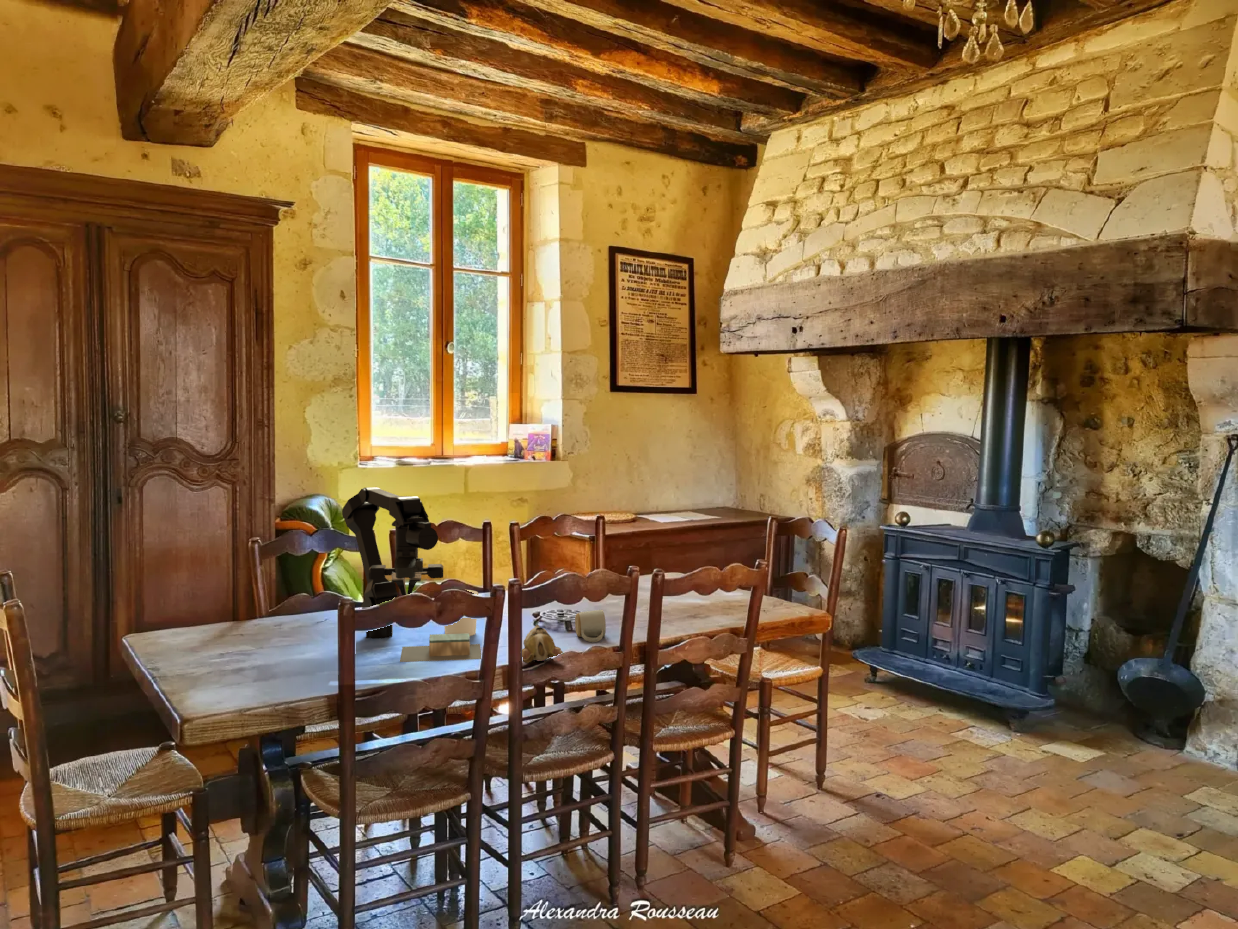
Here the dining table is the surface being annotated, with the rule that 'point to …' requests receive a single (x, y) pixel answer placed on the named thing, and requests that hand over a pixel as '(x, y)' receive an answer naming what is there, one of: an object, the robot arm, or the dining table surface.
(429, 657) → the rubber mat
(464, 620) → the candle holder
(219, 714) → the dining table surface
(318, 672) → the dining table surface
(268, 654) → the dining table surface
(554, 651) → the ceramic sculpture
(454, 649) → the wooden block
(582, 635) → the ceramic mug
